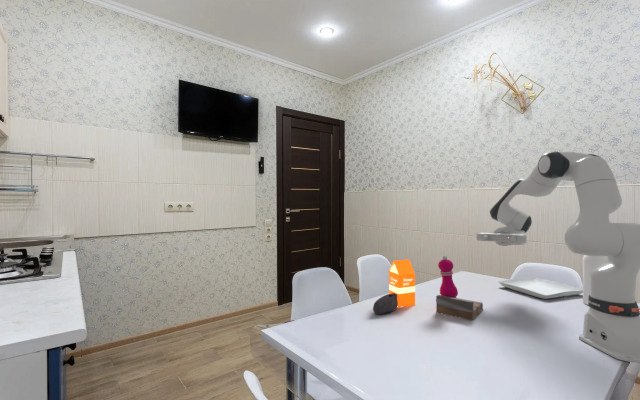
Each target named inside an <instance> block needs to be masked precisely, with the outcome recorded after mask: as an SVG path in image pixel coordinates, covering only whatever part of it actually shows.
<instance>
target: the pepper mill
mask: <svg viewBox="0 0 640 400" xmlns="http://www.w3.org/2000/svg"><path fill="white" fill-rule="evenodd" d="M438 269H439V270H440V273H439V274H440V275H441V277H442V278H441V279H442V280H441V285H440V287H439V295H442V296H447V297H453V298H457V296H458V294H459V291H458V288H457V286H456V285H455V282H454V280H453V275H454V272H453V271H454V270H453V269H454V263H453V262H452V261H451V260H450V259H448V256H447V255H444V256H442V259H440V261H439V262H438Z"/></svg>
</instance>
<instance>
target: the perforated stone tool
mask: <svg viewBox="0 0 640 400" xmlns="http://www.w3.org/2000/svg"><path fill="white" fill-rule="evenodd" d="M397 306H398V301H397V294H395V293H391V294H389V293H388V294H386V295H382V296H381V297H380V298H378V299H377V300H376V301H375V302H374V304H373V307H372V310H373V312H374V314H375V315H384V314H388V313H391V312H393V311H395V310H397V309H398V307H397ZM394 309H395V310H394ZM390 311H391V312H390ZM387 312H388V313H387Z"/></svg>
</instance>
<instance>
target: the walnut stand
mask: <svg viewBox="0 0 640 400" xmlns="http://www.w3.org/2000/svg"><path fill="white" fill-rule="evenodd" d="M435 298H436V307H435V308H436V312H435V313H437V312H438V313H437V314H441V313H442V314H441V315H445V314H446V316H450V315H451V316H450V317H455V316H456V317H455V318H459V317H460V318H461V319H465V320H469V321H473V320H474V319H475V318H476V317H477V316H478V315H479V314H480V313H482V311H483V310H484V309H483V308H484V307H483V306H484V305H483V302H480V301H475V300H469V299H464V298H460V297H459V298H458V297H456V298H453V297H447V296H442V295H441V294H437V295H436V297H435Z"/></svg>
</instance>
